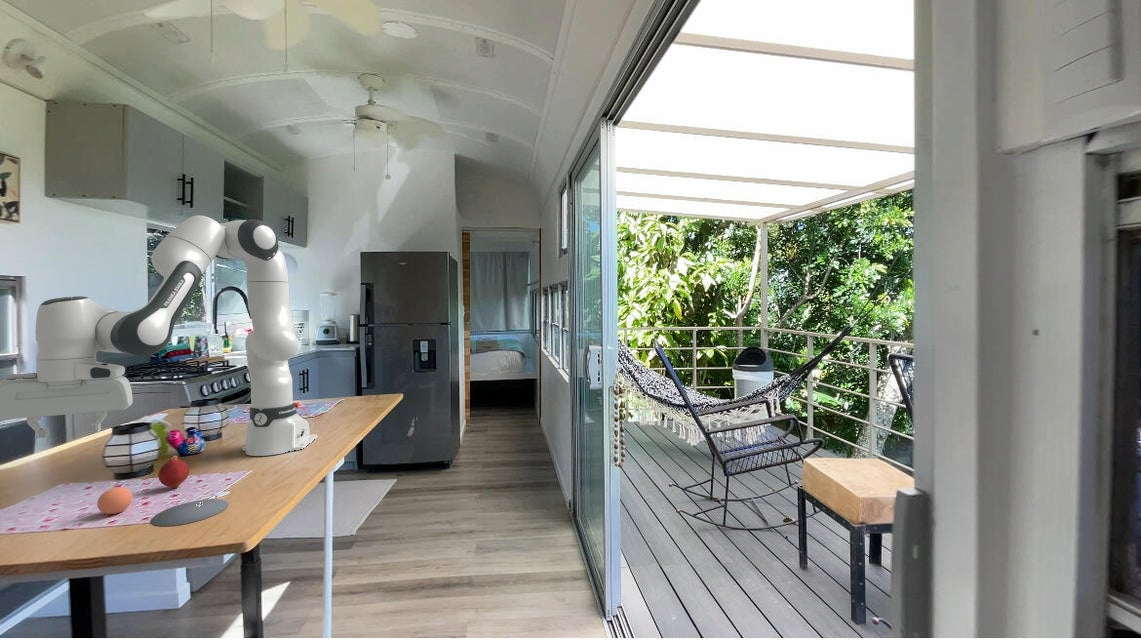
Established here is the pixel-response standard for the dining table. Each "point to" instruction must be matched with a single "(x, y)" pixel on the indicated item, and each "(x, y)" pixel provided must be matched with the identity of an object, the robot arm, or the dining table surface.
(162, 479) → the onion
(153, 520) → the disc
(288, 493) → the dining table surface
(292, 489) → the dining table surface
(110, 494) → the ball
